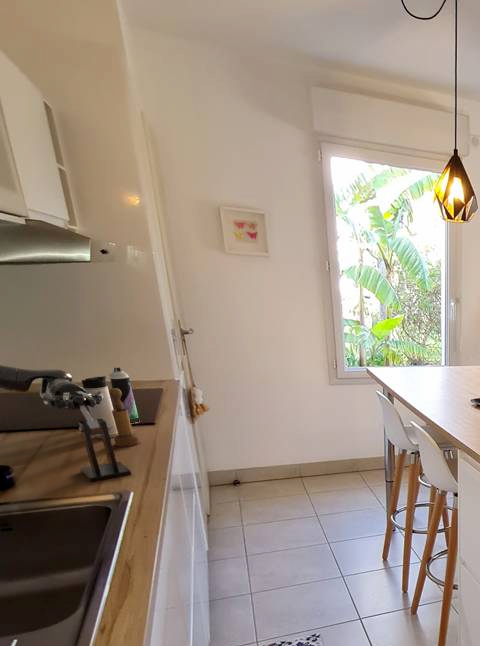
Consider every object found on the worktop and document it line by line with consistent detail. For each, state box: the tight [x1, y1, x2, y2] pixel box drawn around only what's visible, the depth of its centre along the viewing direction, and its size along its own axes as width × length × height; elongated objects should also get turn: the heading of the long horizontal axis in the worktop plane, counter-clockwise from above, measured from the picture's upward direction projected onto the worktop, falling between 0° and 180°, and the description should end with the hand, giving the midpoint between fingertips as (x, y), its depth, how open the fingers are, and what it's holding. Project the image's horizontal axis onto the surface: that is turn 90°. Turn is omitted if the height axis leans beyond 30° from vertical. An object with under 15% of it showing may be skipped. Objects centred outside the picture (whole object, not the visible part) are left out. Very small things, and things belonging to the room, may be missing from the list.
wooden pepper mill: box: [109, 388, 141, 448], centre depth 174 cm, size 7×6×18 cm
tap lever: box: [72, 396, 101, 436], centre depth 149 cm, size 14×4×4 cm, turn 50°
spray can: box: [109, 367, 139, 425], centre depth 197 cm, size 6×6×20 cm
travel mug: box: [81, 375, 118, 440], centre depth 180 cm, size 6×7×20 cm
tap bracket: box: [78, 419, 132, 483], centre depth 149 cm, size 11×9×15 cm
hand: (82, 404), depth 149 cm, fingers closed on tap lever, 3 cm apart
